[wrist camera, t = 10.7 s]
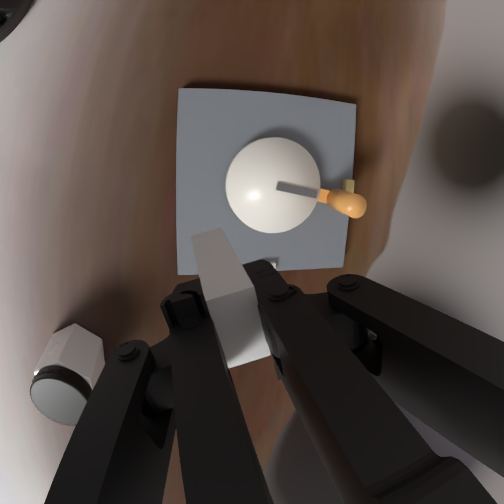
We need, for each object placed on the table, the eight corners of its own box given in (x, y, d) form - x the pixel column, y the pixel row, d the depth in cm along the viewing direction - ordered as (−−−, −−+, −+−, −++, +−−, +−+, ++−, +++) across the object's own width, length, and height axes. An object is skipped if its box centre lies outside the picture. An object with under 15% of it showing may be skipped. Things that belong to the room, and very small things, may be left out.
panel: (178, 91, 34) (178, 87, 32) (348, 105, 39) (359, 104, 36) (177, 269, 41) (178, 277, 38) (336, 262, 46) (345, 269, 43)
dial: (216, 221, 38) (224, 236, 32) (235, 128, 35) (247, 124, 29) (329, 240, 42) (353, 255, 36) (348, 157, 39) (377, 161, 33)
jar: (86, 315, 40) (64, 367, 29) (117, 359, 43) (107, 416, 32) (42, 336, 39) (15, 387, 28) (73, 376, 42) (56, 431, 31)
